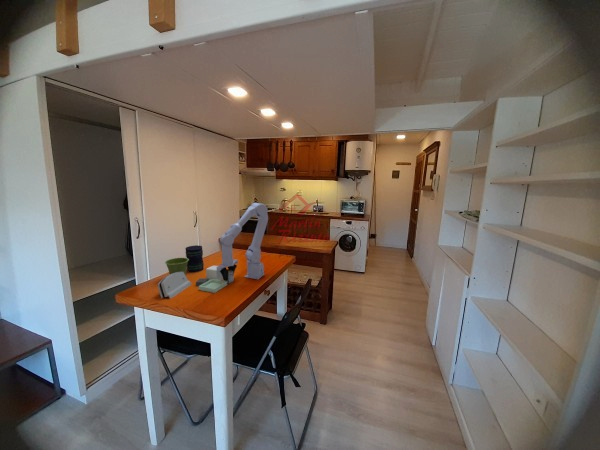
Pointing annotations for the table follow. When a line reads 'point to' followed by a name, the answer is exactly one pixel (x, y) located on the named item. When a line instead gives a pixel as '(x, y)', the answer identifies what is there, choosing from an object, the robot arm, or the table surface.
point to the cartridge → (230, 277)
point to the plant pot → (177, 265)
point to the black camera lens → (194, 259)
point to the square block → (201, 281)
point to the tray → (213, 285)
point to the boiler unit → (213, 273)
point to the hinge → (173, 284)
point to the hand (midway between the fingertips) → (228, 278)
